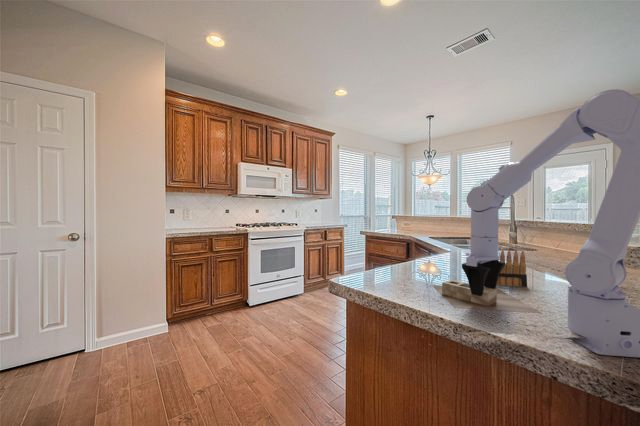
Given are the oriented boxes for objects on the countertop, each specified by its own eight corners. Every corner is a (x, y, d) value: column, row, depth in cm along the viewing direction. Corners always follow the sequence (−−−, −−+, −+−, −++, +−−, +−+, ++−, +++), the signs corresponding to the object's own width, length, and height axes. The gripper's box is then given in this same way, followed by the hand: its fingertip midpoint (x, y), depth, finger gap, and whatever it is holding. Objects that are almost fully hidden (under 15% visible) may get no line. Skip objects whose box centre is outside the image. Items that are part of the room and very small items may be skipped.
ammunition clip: (486, 289, 79) (487, 249, 79) (484, 287, 81) (485, 249, 81) (527, 291, 76) (528, 251, 76) (524, 290, 78) (524, 250, 78)
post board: (541, 319, 57) (542, 296, 57) (454, 314, 59) (454, 292, 59) (497, 293, 75) (497, 276, 75) (431, 290, 77) (432, 273, 77)
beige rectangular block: (496, 301, 63) (496, 289, 63) (488, 306, 60) (488, 293, 60) (451, 290, 72) (451, 279, 72) (442, 293, 69) (442, 282, 69)
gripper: (479, 234, 71) (478, 283, 71) (453, 236, 62) (452, 293, 62) (509, 236, 65) (508, 289, 65) (485, 239, 57) (485, 301, 57)
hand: (483, 291), depth 63 cm, fingers open, 7 cm apart
